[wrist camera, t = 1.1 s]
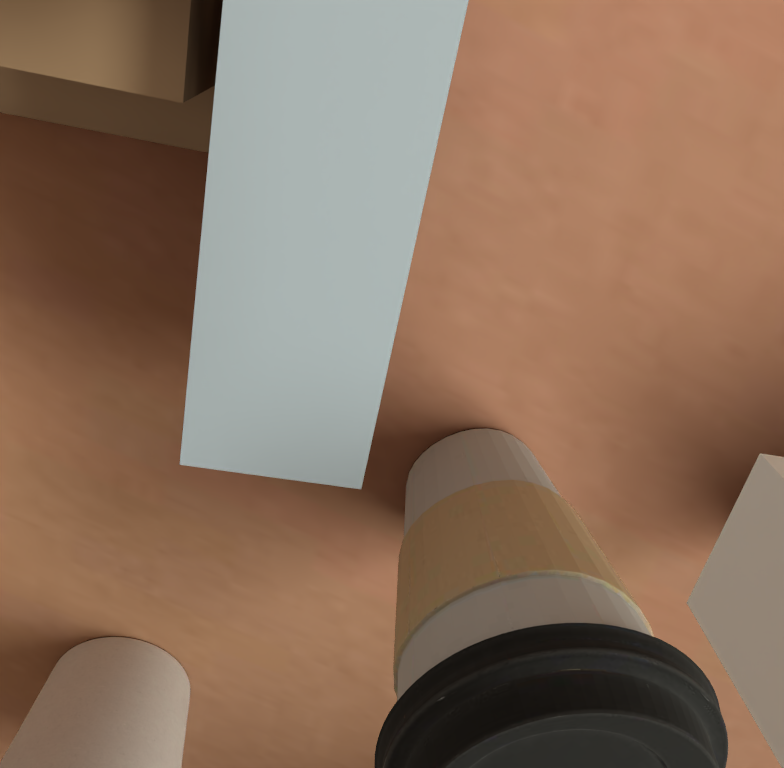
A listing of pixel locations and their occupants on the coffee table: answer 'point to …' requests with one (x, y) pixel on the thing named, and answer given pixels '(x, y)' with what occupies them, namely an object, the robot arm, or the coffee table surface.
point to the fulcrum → (113, 66)
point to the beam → (310, 227)
